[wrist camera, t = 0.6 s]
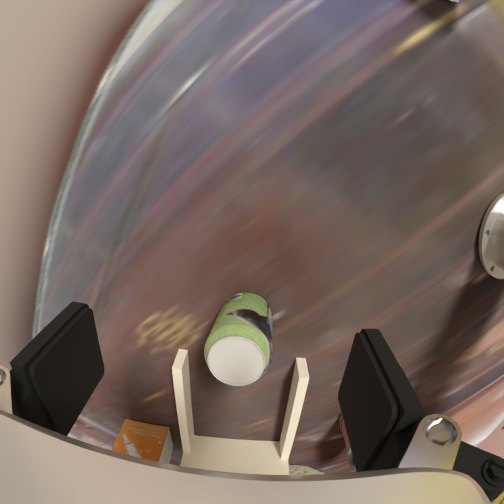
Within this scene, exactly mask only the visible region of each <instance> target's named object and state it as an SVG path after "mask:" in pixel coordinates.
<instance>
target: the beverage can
mask: <svg viewBox="0 0 504 504" xmlns="http://www.w3.org/2000/svg"><path fill="white" fill-rule="evenodd" d="M204 357H205V360H206V363H207V365H208V367H209V369H210V371H211V373H212V374H213V375H214V376H215V377H216V378H217V379H218V380H220V381H221V382H223V383H225V384H228V385H232V386H245V385H248V384H251V383H253V382H255V381H256V380H257V379H258V378H260V377H261V376H262V375H263V374H264V373H265V372H266V371H267V370H268V368H269V366H270V364H271V360H272V311H271V309H270V306H269V305H268V303H267V302H266V301H265V300H264V299H263V298H261V297H260V296H258V295H256V294H253V293H238V294H235V295H233V296H231V297H230V298H228V299H227V300H226V301H225V303H224V304H223V306H222V308H221V310H220V312H219V314H218V316H217V319H216V321H215V323H214V325H213V327H212V329H211V332H210V334H209V336H208V338H207V340H206V343H205V347H204Z"/></svg>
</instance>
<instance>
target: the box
mask: <svg viewBox="0 0 504 504" xmlns="http://www.w3.org/2000/svg"><path fill="white" fill-rule="evenodd" d="M172 374H173V383H174V391H175V399H176V407H177V415H178V422H179V429H180V435H181V442H182V448H183V455H182V460H181V464H180V466H184V467H190V468H197V469H205V470H213V471H222V472H233V473H246V474H264V475H289V466H288V458H289V455H290V451H291V448H292V444H293V440H294V437H295V433H296V429H297V425H298V422H299V418H300V414H301V410H302V406H303V402H304V398H305V393H306V389H307V385H308V381H309V374H308V369H307V364H306V359H305V358H296V362H295V367H294V373H293V378H292V383H291V388H290V394H289V399H288V404H287V408H286V413H285V418H284V423H283V428H282V432H281V437H280V441H255V440H238V439H225V438H215V437H205V436H197V435H194V426H193V415H192V403H191V391H190V377H189V361H188V350H183V349H179V350H178V353H177V355H176V358H175V361H174V363H173V366H172Z"/></svg>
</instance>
